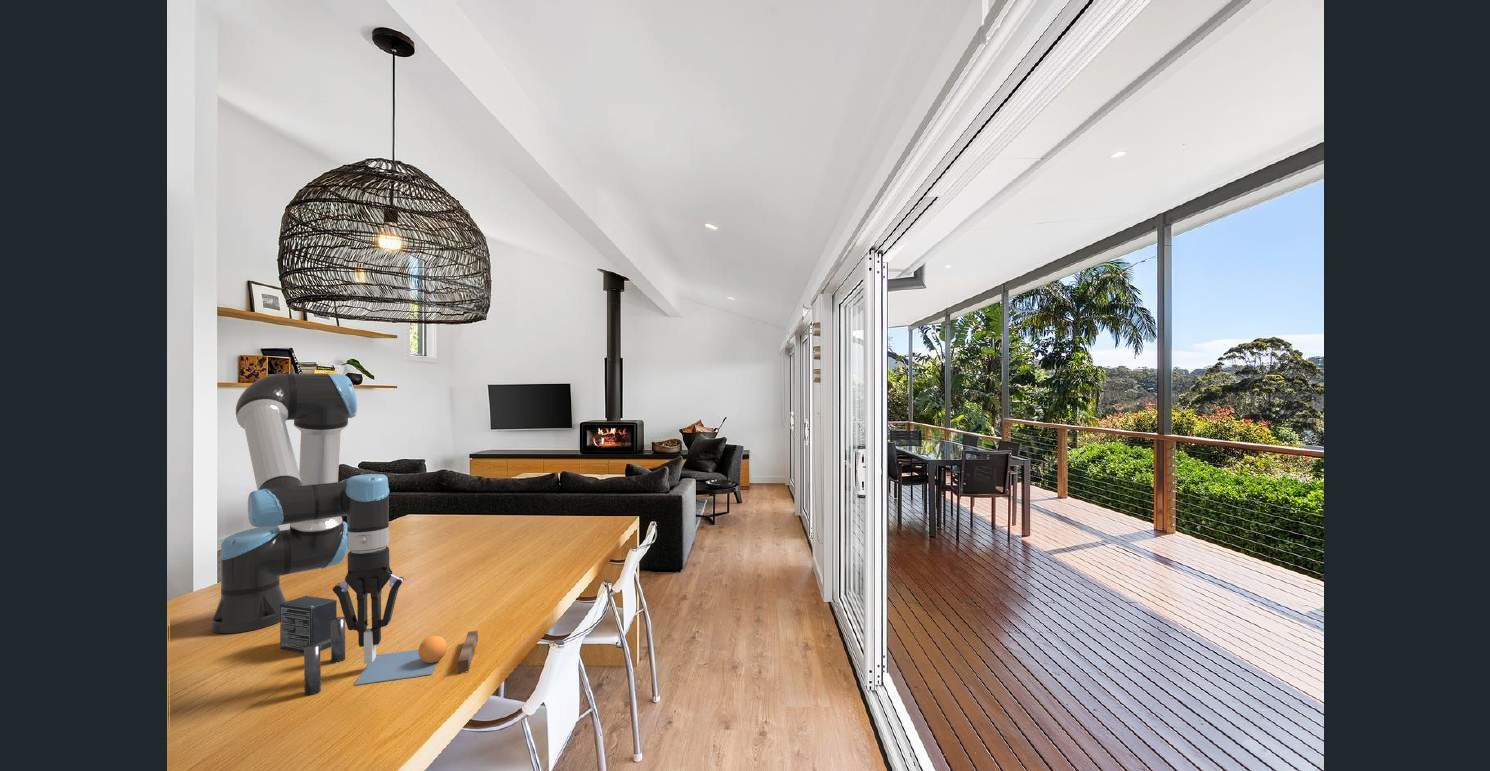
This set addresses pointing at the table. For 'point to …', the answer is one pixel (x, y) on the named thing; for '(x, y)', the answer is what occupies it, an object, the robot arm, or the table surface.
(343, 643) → the post
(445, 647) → the ball
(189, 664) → the table surface
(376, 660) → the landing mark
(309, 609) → the small box
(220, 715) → the table surface
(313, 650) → the post
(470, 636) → the stopper wall
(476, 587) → the table surface
